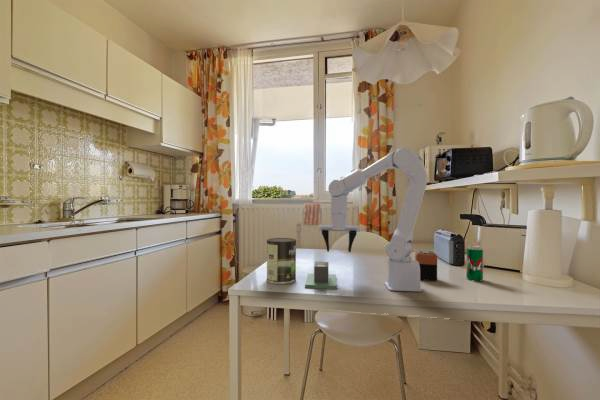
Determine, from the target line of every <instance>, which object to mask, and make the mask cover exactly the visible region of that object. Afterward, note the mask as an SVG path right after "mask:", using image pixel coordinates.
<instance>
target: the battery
mask: <svg viewBox="0 0 600 400" xmlns="http://www.w3.org/2000/svg"><path fill="white" fill-rule="evenodd" d="M414 256H415V257H414V260H416V261H418V262H419V265H420V281H432V282H437V281H438V255H437V254H436V253H435V251H434V250H427V252H424V250H418V251H417V252H416V251H415V253H414Z"/></svg>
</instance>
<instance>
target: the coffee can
mask: <svg viewBox="0 0 600 400" xmlns="http://www.w3.org/2000/svg"><path fill="white" fill-rule="evenodd" d="M296 258H297V239H295V238H290V237H274V238H273V237H272V238H267V239H266V282H268V283H270V284H274V285H287V284H291V283H294V282H296V281H297V280H296V279H297V278H296V277H297V275H296V273H297V272H296V271H297V265H296V264H297V259H296Z"/></svg>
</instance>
